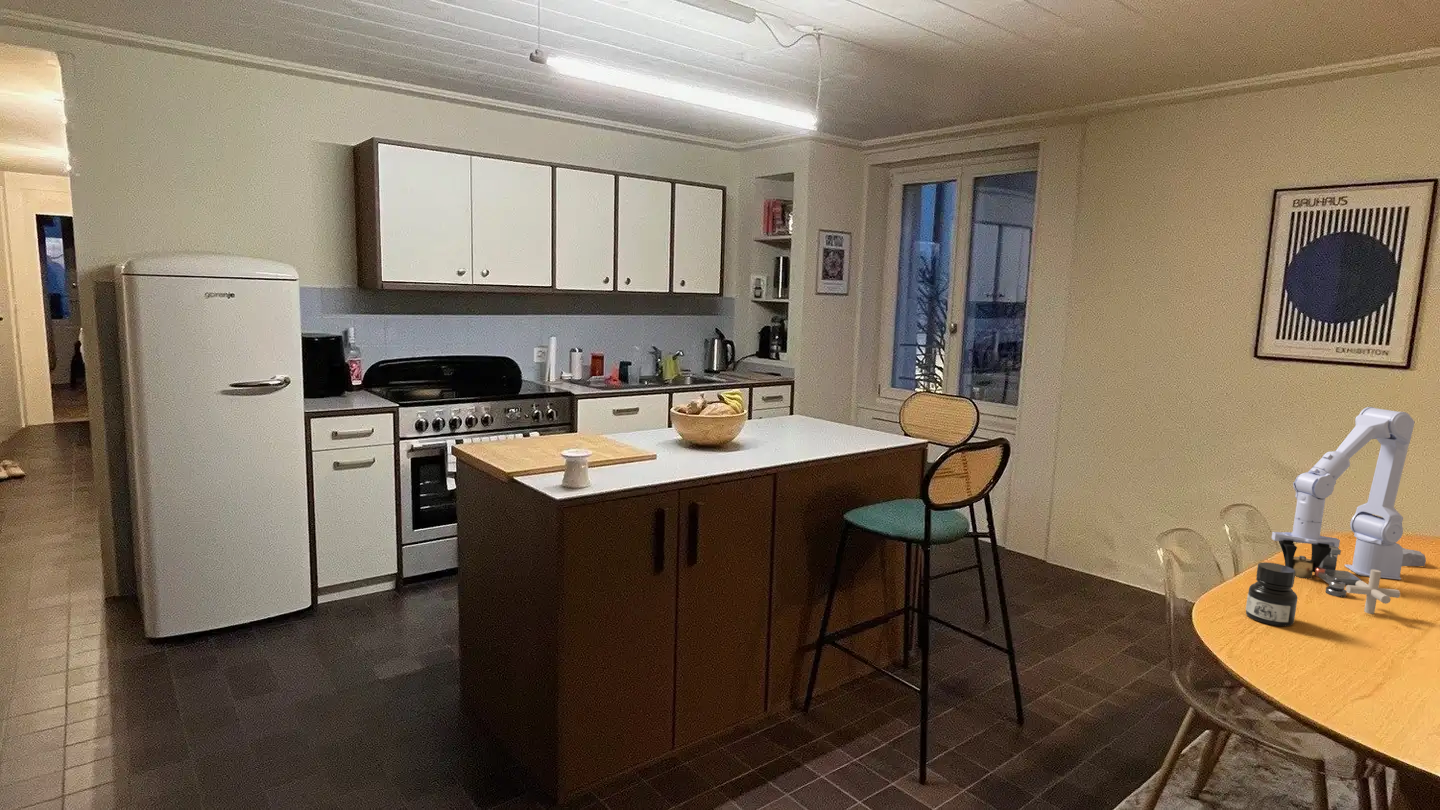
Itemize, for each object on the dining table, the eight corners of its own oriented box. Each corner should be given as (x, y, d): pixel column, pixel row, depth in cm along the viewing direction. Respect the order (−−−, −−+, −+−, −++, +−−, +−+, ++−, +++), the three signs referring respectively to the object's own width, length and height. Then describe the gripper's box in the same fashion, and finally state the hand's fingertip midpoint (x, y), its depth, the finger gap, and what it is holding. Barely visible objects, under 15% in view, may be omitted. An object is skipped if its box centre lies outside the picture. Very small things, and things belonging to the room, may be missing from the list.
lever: (1324, 575, 202) (1325, 567, 202) (1346, 591, 191) (1348, 583, 191) (1310, 574, 203) (1311, 566, 202) (1332, 589, 192) (1333, 581, 192)
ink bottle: (1235, 615, 177) (1242, 563, 176) (1254, 607, 182) (1261, 557, 180) (1284, 631, 169) (1292, 577, 168) (1303, 623, 174) (1310, 571, 172)
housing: (1306, 573, 208) (1309, 554, 207) (1315, 579, 203) (1318, 560, 202) (1284, 571, 209) (1287, 552, 208) (1293, 577, 204) (1295, 558, 204)
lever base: (1340, 592, 195) (1343, 576, 194) (1349, 598, 191) (1351, 582, 190) (1322, 590, 196) (1324, 574, 195) (1330, 595, 192) (1332, 580, 191)
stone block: (1392, 573, 217) (1430, 567, 216) (1391, 556, 216) (1428, 550, 216) (1359, 560, 229) (1394, 555, 228) (1357, 544, 228) (1393, 539, 228)
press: (1337, 570, 211) (1341, 545, 210) (1361, 586, 199) (1365, 559, 198) (1307, 567, 213) (1311, 542, 212) (1329, 582, 201) (1333, 556, 200)
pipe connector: (1408, 623, 176) (1415, 580, 175) (1357, 618, 178) (1364, 575, 177) (1380, 606, 186) (1387, 565, 185) (1332, 601, 188) (1339, 561, 186)
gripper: (1282, 520, 202) (1275, 571, 204) (1348, 526, 198) (1340, 578, 200) (1271, 513, 209) (1264, 562, 211) (1334, 519, 205) (1327, 569, 207)
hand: (1300, 569), depth 206 cm, fingers closed on housing, 5 cm apart
